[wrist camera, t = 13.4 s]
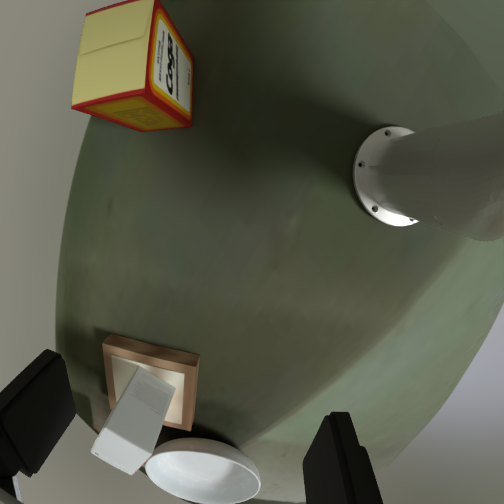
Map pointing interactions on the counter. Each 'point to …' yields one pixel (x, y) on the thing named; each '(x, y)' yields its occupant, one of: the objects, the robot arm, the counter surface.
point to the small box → (134, 422)
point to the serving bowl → (203, 471)
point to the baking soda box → (134, 68)
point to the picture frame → (159, 364)
